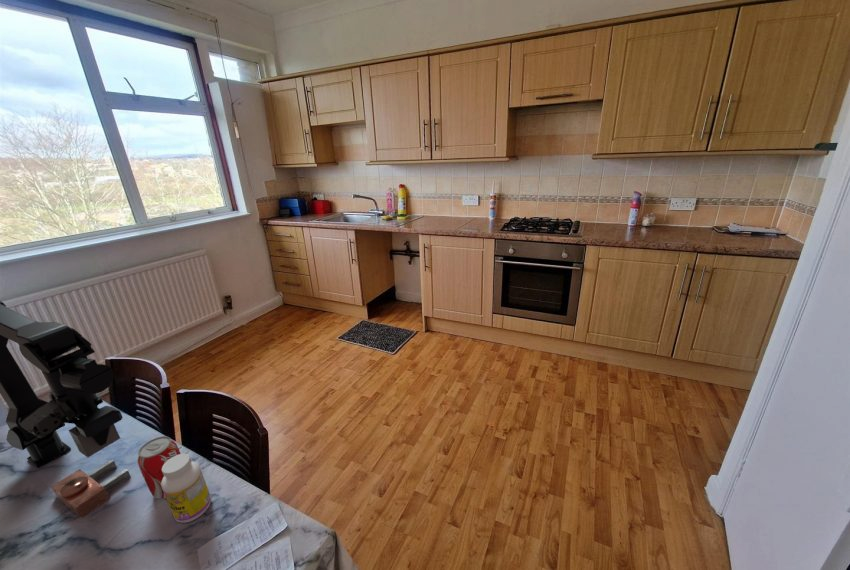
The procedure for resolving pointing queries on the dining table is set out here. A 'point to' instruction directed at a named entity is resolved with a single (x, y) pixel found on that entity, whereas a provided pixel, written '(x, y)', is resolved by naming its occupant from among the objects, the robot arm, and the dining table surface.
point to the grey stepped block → (92, 441)
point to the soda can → (156, 462)
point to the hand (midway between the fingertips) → (98, 441)
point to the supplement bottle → (185, 488)
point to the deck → (88, 488)
